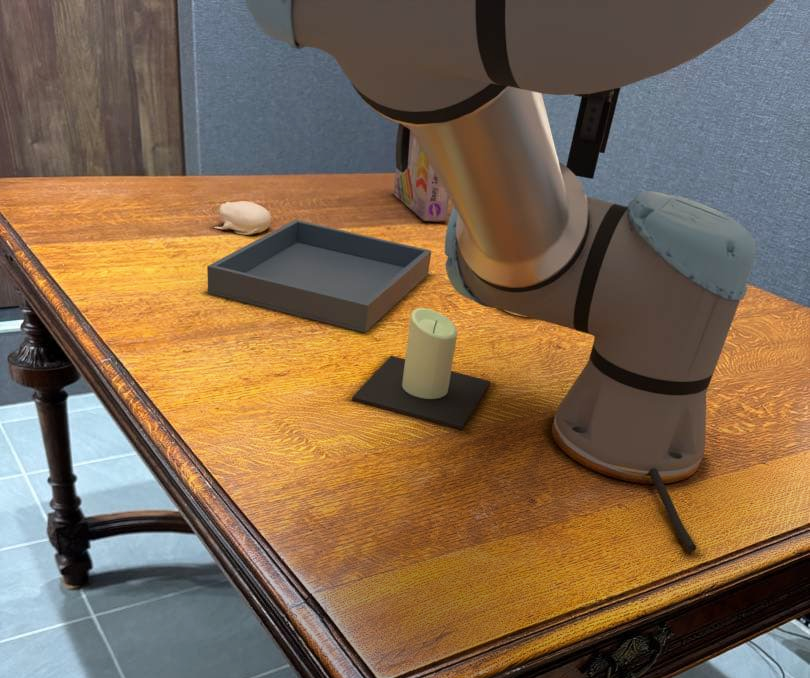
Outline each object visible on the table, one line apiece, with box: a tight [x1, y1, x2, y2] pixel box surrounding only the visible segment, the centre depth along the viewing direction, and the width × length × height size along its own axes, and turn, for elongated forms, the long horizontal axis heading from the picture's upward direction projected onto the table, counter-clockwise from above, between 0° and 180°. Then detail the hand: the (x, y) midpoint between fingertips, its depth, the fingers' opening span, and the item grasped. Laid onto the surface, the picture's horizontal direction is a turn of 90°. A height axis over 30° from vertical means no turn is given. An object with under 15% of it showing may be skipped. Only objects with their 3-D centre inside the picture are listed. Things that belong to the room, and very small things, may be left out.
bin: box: [206, 219, 432, 334], centre depth 110 cm, size 26×22×4 cm
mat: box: [351, 355, 491, 430], centre depth 88 cm, size 12×12×1 cm
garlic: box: [213, 200, 272, 236], centre depth 124 cm, size 8×7×4 cm
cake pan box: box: [393, 123, 450, 223], centre depth 142 cm, size 19×5×18 cm, turn 17°
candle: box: [402, 307, 458, 399], centre depth 85 cm, size 5×5×8 cm
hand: (585, 162), depth 82 cm, fingers open, 13 cm apart
